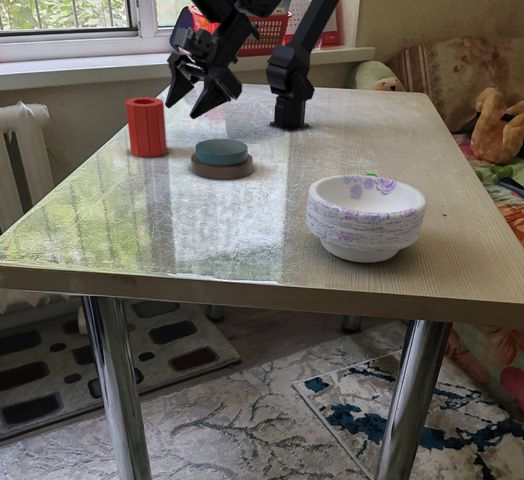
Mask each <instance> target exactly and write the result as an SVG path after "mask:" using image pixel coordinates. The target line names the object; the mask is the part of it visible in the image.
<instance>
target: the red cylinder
mask: <svg viewBox="0 0 524 480" xmlns="http://www.w3.org/2000/svg"><path fill="white" fill-rule="evenodd" d="M164 108H165V107H164V101H163V100H162V99H161V98H156V97H148V96H143V97H142V96H141V97H132V98H129V99H126V100H125V110H126V117H127V126H128V135H129V137H128V138H129V144H130V153H131V155H133V156H135V157H139V158H155V157H162V156H163V155H165V154H166V153H167V137H166V124H165V110H164Z"/></svg>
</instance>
